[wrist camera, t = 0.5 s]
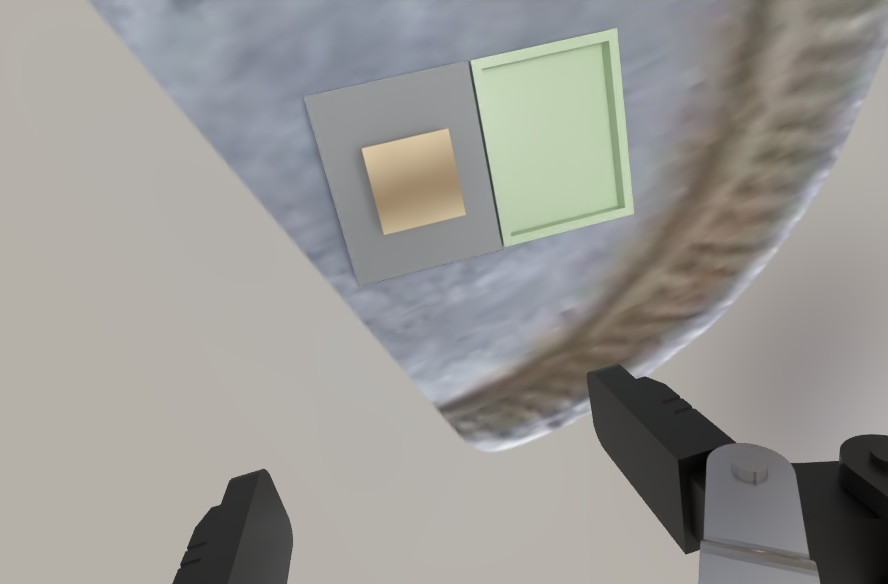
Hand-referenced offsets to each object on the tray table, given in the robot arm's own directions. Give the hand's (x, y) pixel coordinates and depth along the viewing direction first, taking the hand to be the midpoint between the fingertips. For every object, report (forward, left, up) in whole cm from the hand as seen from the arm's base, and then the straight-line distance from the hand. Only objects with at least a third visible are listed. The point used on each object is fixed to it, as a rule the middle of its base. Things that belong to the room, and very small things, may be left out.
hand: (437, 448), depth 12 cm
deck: (-4, +3, -24) cm, 24 cm away
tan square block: (-4, +3, -22) cm, 22 cm away
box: (-4, +13, -24) cm, 27 cm away
